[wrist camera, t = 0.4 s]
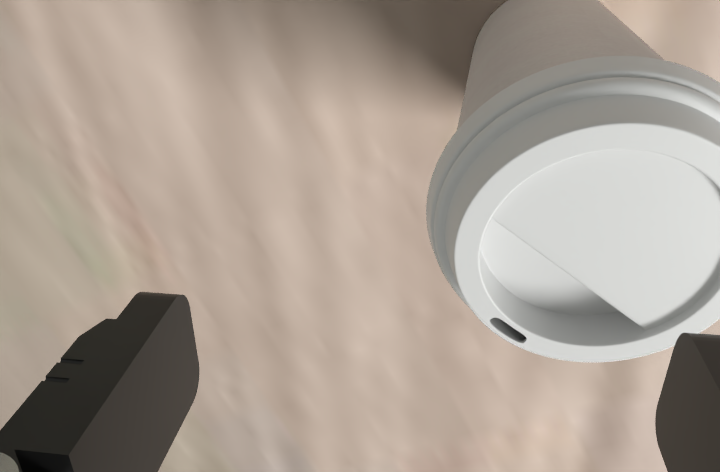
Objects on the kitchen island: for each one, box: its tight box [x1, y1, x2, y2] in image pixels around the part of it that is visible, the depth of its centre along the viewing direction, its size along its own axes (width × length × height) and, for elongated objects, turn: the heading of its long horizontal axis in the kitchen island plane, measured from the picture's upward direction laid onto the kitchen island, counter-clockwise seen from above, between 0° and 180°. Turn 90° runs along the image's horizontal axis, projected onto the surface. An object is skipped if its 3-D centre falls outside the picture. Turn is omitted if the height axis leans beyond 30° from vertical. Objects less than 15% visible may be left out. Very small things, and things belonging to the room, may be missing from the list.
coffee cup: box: [426, 0, 720, 362], centre depth 23 cm, size 10×10×15 cm
